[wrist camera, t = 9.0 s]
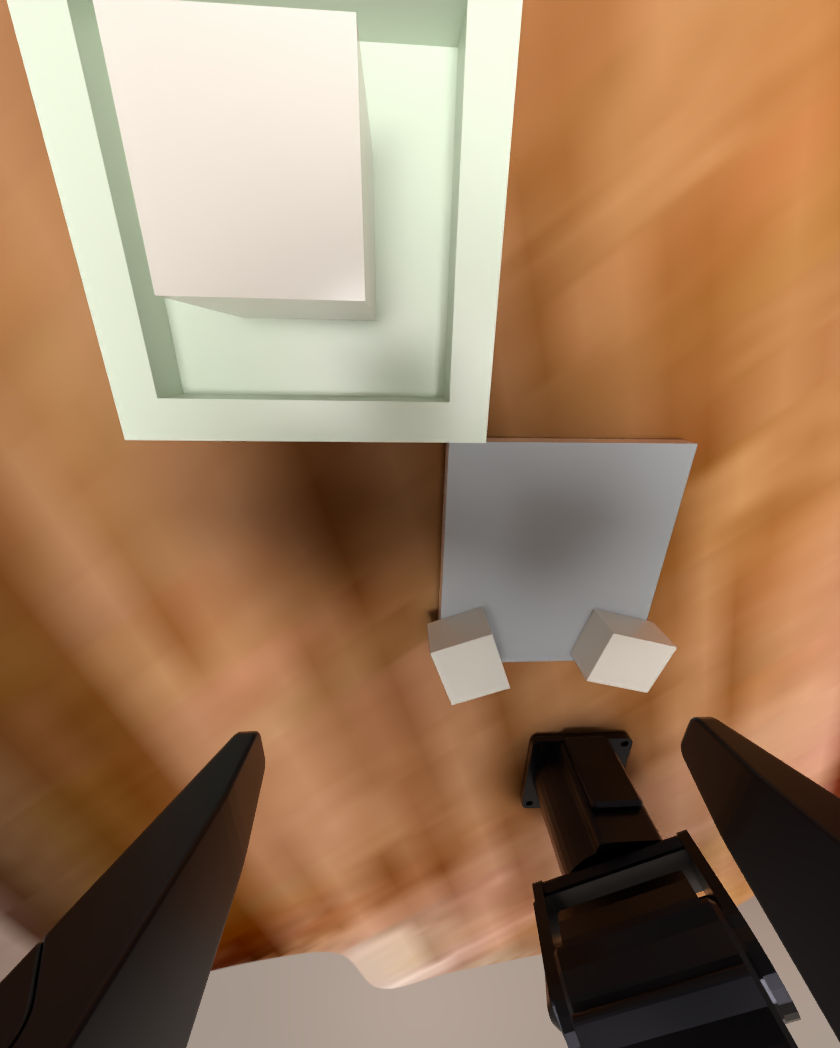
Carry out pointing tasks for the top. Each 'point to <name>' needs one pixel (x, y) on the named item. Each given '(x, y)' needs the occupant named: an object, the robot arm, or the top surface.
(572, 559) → the slate board
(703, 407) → the top surface
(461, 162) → the bin
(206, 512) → the top surface
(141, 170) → the large white cube
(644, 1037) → the robot arm
